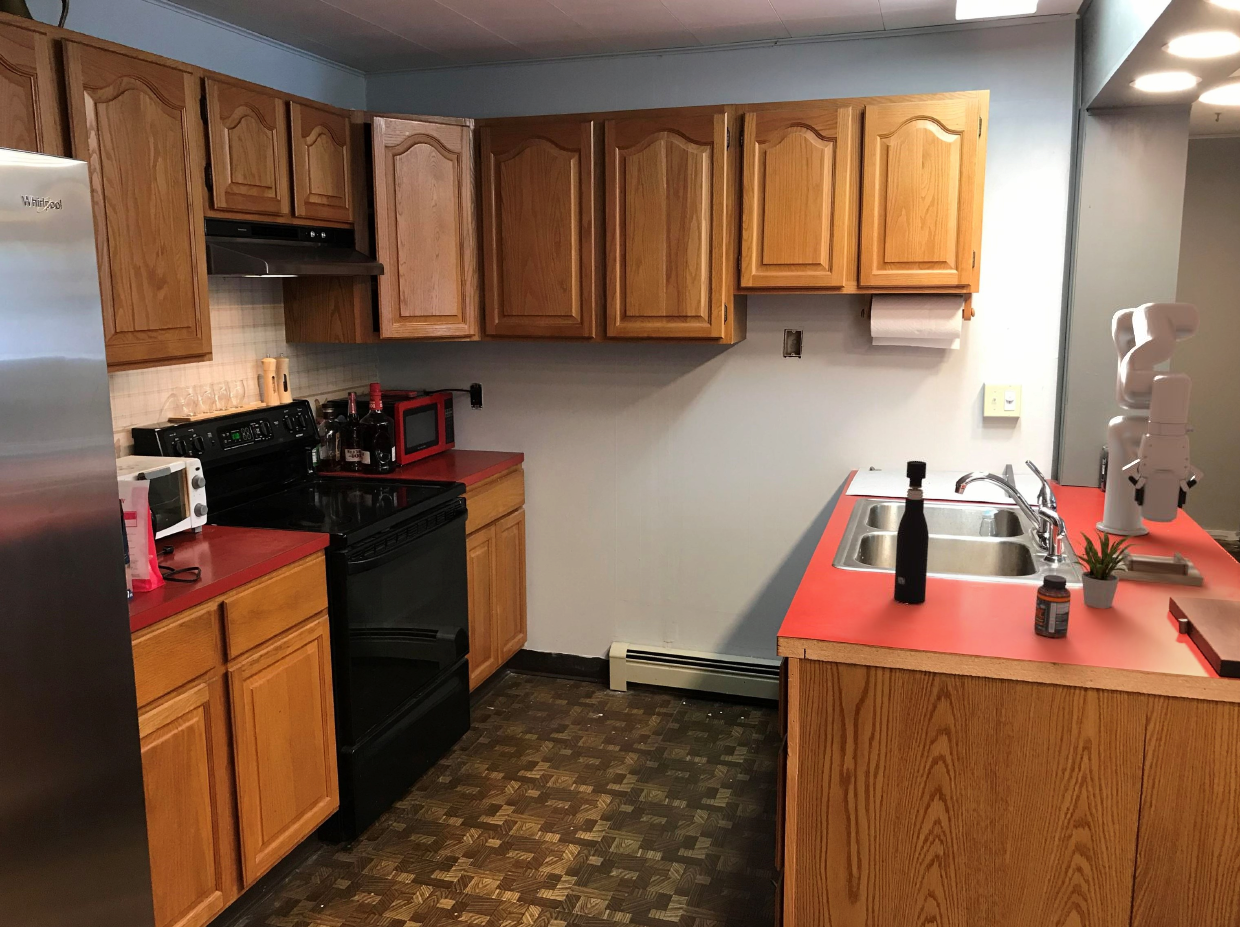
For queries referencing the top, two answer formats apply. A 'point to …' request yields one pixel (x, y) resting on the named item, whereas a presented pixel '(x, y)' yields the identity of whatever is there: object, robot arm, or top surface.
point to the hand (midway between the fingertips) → (1159, 505)
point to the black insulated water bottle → (912, 541)
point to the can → (1160, 496)
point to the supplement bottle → (1052, 607)
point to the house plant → (1101, 571)
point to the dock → (1158, 569)
